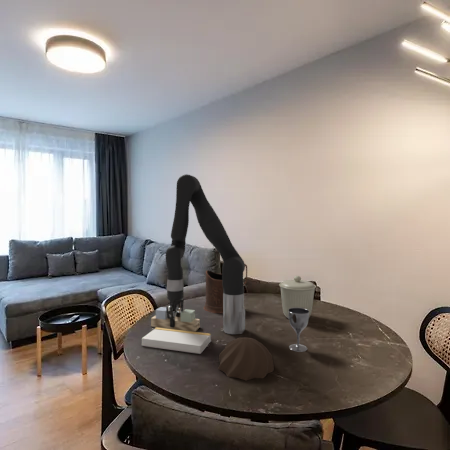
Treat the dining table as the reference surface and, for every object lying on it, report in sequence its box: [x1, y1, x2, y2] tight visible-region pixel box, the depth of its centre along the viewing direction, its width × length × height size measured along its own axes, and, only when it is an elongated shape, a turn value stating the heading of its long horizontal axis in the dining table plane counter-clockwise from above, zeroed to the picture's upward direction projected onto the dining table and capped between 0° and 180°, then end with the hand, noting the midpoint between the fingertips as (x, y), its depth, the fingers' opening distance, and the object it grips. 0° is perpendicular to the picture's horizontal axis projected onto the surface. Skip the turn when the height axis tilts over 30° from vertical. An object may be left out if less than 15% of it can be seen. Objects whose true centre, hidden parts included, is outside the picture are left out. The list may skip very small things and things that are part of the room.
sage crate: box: [180, 308, 196, 322], centre depth 149 cm, size 5×5×4 cm
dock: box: [141, 327, 212, 355], centre depth 133 cm, size 25×12×3 cm, turn 74°
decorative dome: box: [217, 336, 275, 381], centre depth 114 cm, size 19×20×10 cm
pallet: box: [150, 314, 201, 332], centre depth 151 cm, size 22×6×4 cm, turn 74°
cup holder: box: [203, 263, 248, 314], centre depth 179 cm, size 18×24×25 cm
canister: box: [278, 275, 317, 319], centre depth 165 cm, size 18×18×21 cm
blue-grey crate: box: [155, 306, 170, 320], centre depth 153 cm, size 5×5×4 cm
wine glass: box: [288, 307, 310, 353], centre depth 129 cm, size 8×8×15 cm
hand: (175, 324), depth 151 cm, fingers closed on pallet, 5 cm apart
